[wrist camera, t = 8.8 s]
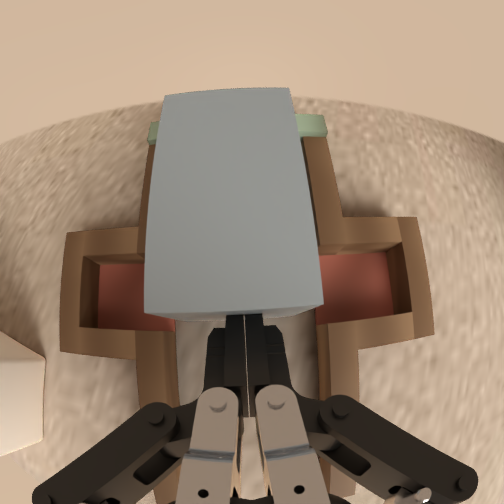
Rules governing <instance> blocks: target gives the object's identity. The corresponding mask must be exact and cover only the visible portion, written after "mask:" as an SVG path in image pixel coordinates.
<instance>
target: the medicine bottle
mask: <svg viewBox="0 0 504 504" xmlns="http://www.w3.org/2000/svg"><path fill="white" fill-rule="evenodd" d="M45 364H46V360H45V358H44V357H43V356H41V355H39V354H37V353H35V352H34V351H32V350H30V349H29V348H27V347H25V346H23V345H22V344H20V343H19V342H17V341H15V340H14V339H12V338H11V337H9V336H7V335H6V334H4V333H3V332H1V331H0V456H3V455H6V454H9V453H11V452H14V451H17V450H20V449H22V448H25V447H27V446H30V445H33V444H35V443H38V442H40V441H42V440H43V389H44V375H45Z"/></svg>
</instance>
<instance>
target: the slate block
mask: <svg viewBox="0 0 504 504" xmlns="http://www.w3.org/2000/svg"><path fill="white" fill-rule="evenodd" d="M323 304H324V301H323V291H322V281H321V272H320V263H319V255H318V247H317V239H316V232H315V225H314V218H313V211H312V204H311V198H310V192H309V186H308V180H307V174H306V168H305V163H304V157H303V152H302V147H301V141H300V136H299V131H298V126H297V122H296V117H295V112H294V108H293V103H292V99H291V94H290V90H289V88H237V89H236V88H235V89H220V90H207V91H196V92H188V93H179V94H172V95H166V96H165V97H164V102H163V107H162V112H161V117H160V123H159V128H158V134H157V140H156V147H155V154H154V161H153V168H152V176H151V185H150V194H149V204H148V216H147V229H146V245H145V269H144V313H147V314H152V315H156V316H161V317H166V318H171V319H176V320H181V321H186V322H193V321H225V320H226V315H243V317H244V320H245V314H262V316H263V318H277V317H290V316H294V315H297V314H300V313H302V312H305V311H308V310H310V309H313V308H315V307H318V306H321V305H323Z"/></svg>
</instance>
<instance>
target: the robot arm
mask: <svg viewBox="0 0 504 504" xmlns="http://www.w3.org/2000/svg"><path fill="white" fill-rule="evenodd" d="M245 330H246V351H247V372H248V390H249V405H250V417H255V418H256V434H257V441H258V447H259V453H260V459H261V465H262V471H263V477H264V486H265V492H266V497H263V498H259V499H256V500H247V499H242V498H240V497H241V459H242V440H243V432H244V422H243V417H249V415H248V394H247V373H246V351H245V333H244V317H243V315H226V326H225V328H214V329H213V330H212V332H211V333H210V335H209V336H208V343H207V354H206V366H205V378H204V388H203V391H202V393H201V395H200V396H199V398H197V399H196V400H195V401H193V402H192V403H190V404H186V405H183V406H179V407H174V408H172V407H171V406H169V405H168V404H166V403H162V402H153V403H149V404H147V405H145V406H144V407H143V408H141V409H140V410H139V411H138V412H136V413H135V414H134V415H133V416H131V417H130V418H129V419H128V420H127V421H125V422H124V423H123V424H121V425H120V426H119V427H118V428H116V429H115V430H114V431H113V432H111V433H110V434H109V435H107V436H106V437H105V438H104V439H102V440H101V441H100V442H98V443H97V444H96V445H94V446H93V447H92V448H90V449H89V450H88V451H86V452H85V453H84V454H82V455H81V456H80V457H78V458H77V459H76V460H74V461H73V462H72V463H70V464H69V465H67V466H66V467H65V468H63V469H62V470H60V471H59V472H58V473H56V474H55V475H53V476H52V477H51V478H49V479H48V480H46V481H45V482H43V483H42V484H40V485H39V486H38V487H36V488H35V489H34V491H33V494H32V503H33V504H135V503H136V502H138V501H139V500H140V499H141V498H143V497H144V496H145V495H146V494H147V493H149V492H150V491H151V490H152V489H153V488H155V487H156V486H157V485H158V484H159V483H160V482H162V481H163V480H164V479H165V478H166V477H167V476H168V475H170V474H171V473H172V472H173V471H174V470H175V469H176V468H177V467H178V466H179V465H181V464H182V465H181V471H180V477H179V484H178V490H177V496H176V500H175V501H172V502H170V503H168V504H351V503H349V502H348V501H346V500H345V499H343V498H341V497H339V496H336V495H333V494H329V493H327V489H326V486H325V482H324V478H323V475H322V471H321V468H320V464H319V461H318V457H317V455H319V456H320V457H321V458H323V459H324V460H325V461H327V462H328V463H330V464H331V465H332V466H334V467H335V468H337V469H338V470H339V471H341V472H342V473H344V474H345V475H347V476H348V477H350V478H351V479H353V480H354V481H356V482H357V483H359V484H360V485H362V486H363V487H365V488H366V489H368V490H370V491H371V492H373V493H374V494H376V495H378V496H379V497H381V498H383V499H384V500H385V502H384V504H459V503H461V502H463V501H465V500H467V499H469V498H470V497H471V496H472V495H473V494H474V492H475V491H476V489H477V486H478V476H477V473H476V472H475V470H474V469H473V468H471V467H469V466H467V465H465V464H463V463H461V462H459V461H457V460H456V459H454V458H452V457H450V456H448V455H446V454H444V453H442V452H441V451H439V450H437V449H435V448H433V447H432V446H430V445H428V444H426V443H425V442H423V441H421V440H419V439H418V438H416V437H414V436H412V435H411V434H409V433H407V432H406V431H404V430H402V429H401V428H399V427H397V426H396V425H394V424H392V423H391V422H389V421H388V420H386V419H384V418H383V417H381V416H379V415H378V414H376V413H375V412H373V411H372V410H370V409H368V408H367V407H365V406H364V405H362V404H361V403H359V402H358V401H356V400H355V399H353V398H351V397H349V396H347V395H340V394H339V395H333V396H330V397H329V398H327V399H326V400H325V401H322V400H315V399H309V398H305V397H303V396H301V395H299V394H298V393H297V392H296V391H295V390H294V389H293V387H292V385H291V380H290V375H289V369H288V363H287V358H286V353H285V347H284V341H283V336H282V333H281V332H280V330H279V329H278V328H277V326H276V325H270V326H264V325H263V316H262V314H245Z"/></svg>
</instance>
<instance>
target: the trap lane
mask: <svg viewBox="0 0 504 504" xmlns="http://www.w3.org/2000/svg"><path fill="white" fill-rule="evenodd" d="M295 117H296V122H297V126H298V131H299V136H300V141H301V147H302V152H303V157H304V163H305V168H306V174H307V180H308V186H309V192H310V198H311V204H312V211H313V218H314V225H315V232H316V239H317V247H318V255H319V263H320V272H321V281H322V291H323V301H324V304H323V305H321V306H318V307H315V320H316V335H317V351H318V372H319V400H322V401H325V400H326V399H327V398H329V397H330V396H333V395H339V394H340V395H347V396H349V397H351V398H353V399H355V400H356V401H358V402H359V362H358V350H359V349H365V348H371V347H377V346H383V345H388V344H393V343H398V342H403V341H408V340H412V339H417V338H421V337H425V336H429V335H434V321H433V310H432V301H431V293H430V285H429V278H428V272H427V266H426V260H425V254H424V249H423V244H422V239H421V235H420V230H419V226H418V221H417V217H343V215H342V210H341V204H340V199H339V194H338V189H337V184H336V179H335V174H334V169H333V165H332V160H331V156H330V152H329V147H328V143H327V139H326V136H327V133H328V131H327V127H326V124H325V120H324V116H323V115H312V114H295ZM159 123H160V121H158V122H151V124H150V129H149V134H148V139H147V141H148V143H149V150H148V156H147V163H146V169H145V176H144V183H143V191H142V199H141V207H140V217H139V226H135V227H123V228H111V229H99V230H88V231H78V232H68V233H67V235H66V242H65V249H64V257H63V267H62V278H61V293H60V351H61V352H67V353H74V354H82V355H90V356H99V357H108V358H119V359H132V360H136V369H137V383H138V395H139V405H140V409H141V408H143V407H144V406H145V405H147V404H149V403H153V402H162V403H166V404H168V405H169V406H171V407H172V408H174V407H179V406H180V402H179V390H178V376H177V359H176V336H175V319H171V318H166V317H161V316H156V315H152V314H147V313H144V269H145V245H146V229H147V216H148V204H149V194H150V185H151V176H152V168H153V161H154V154H155V147H156V140H157V134H158V128H159ZM181 465H182V464H181ZM181 465H179V466H178V467H177V468H176V469H175V470H174V471H173V472H172V473H171V474H170V475H168V476H167V477H166V478H165V479H164V480H163V481H162V482H160V483H159V484H158V485H157V486H156V487H155V488H153V490H154V495H155V499H156V503H157V504H168V503H170V502H172V501H175V500H176V496H177V490H178V484H179V477H180V471H181ZM320 468H321V471H322V475H323V478H324V482H325V486H326V489H327V493H329V494H333V495H336V496H339V497H341V498H343V497H347V496H351V495H355V486H356V481H354V480H353V479H351V478H350V477H348V476H347V475H345V474H344V473H342V472H341V471H339V470H338V469H337V468H335V467H334V466H332V465H331V464H330V463H328V462H327V461H325V460H324V459H323V458H321V457H320Z"/></svg>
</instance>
